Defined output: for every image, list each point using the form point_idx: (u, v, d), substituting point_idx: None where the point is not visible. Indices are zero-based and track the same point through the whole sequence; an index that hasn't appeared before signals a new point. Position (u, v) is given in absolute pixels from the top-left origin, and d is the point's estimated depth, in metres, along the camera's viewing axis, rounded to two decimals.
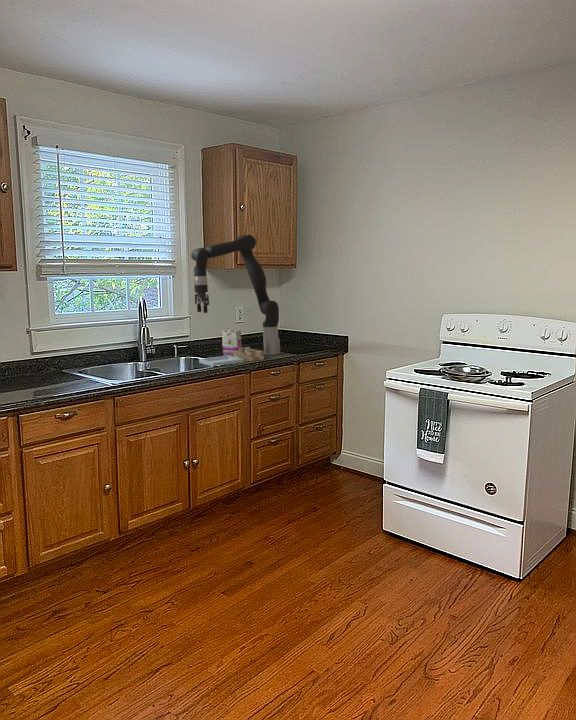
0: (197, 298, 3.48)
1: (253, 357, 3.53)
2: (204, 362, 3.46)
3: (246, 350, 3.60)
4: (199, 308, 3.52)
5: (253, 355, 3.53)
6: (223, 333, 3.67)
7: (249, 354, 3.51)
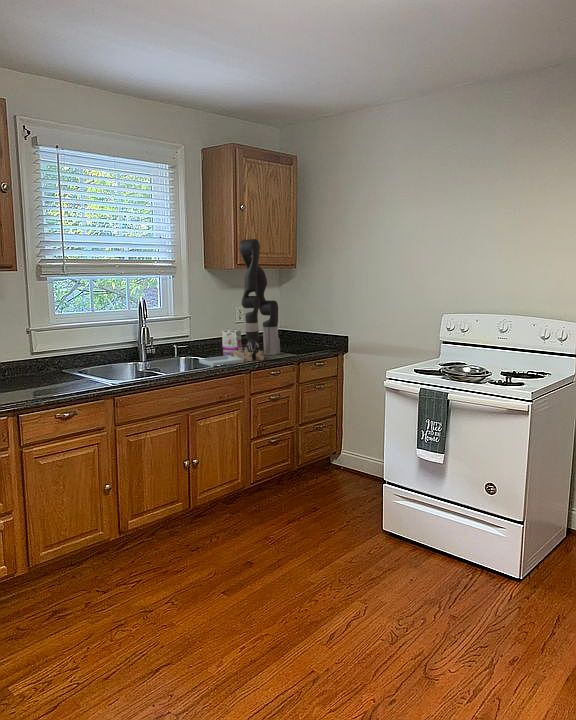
0: (249, 344, 3.52)
1: None
2: (204, 362, 3.46)
3: (246, 350, 3.60)
4: None
5: None
6: (223, 333, 3.67)
7: (249, 354, 3.51)
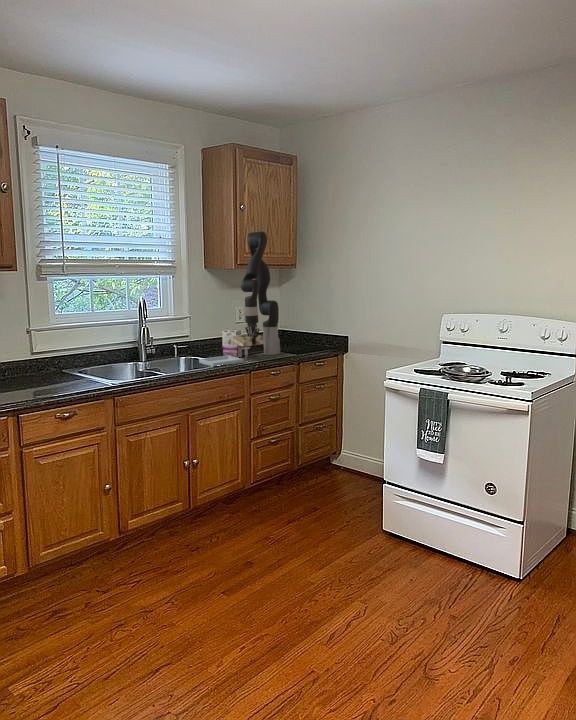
0: (248, 328, 3.51)
1: None
2: (204, 362, 3.46)
3: (246, 350, 3.60)
4: None
5: None
6: (223, 333, 3.67)
7: (249, 338, 3.50)
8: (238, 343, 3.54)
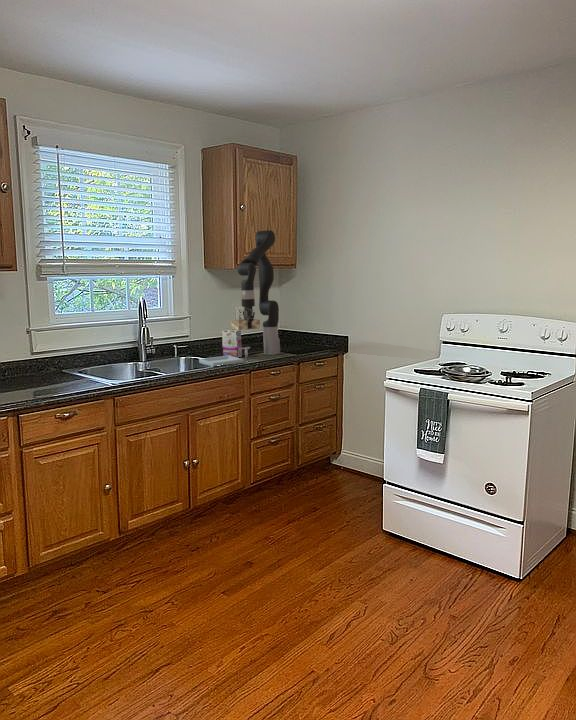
0: (244, 312, 3.49)
1: None
2: (204, 362, 3.46)
3: (246, 350, 3.60)
4: None
5: None
6: (223, 333, 3.67)
7: (244, 322, 3.48)
8: (235, 327, 3.53)
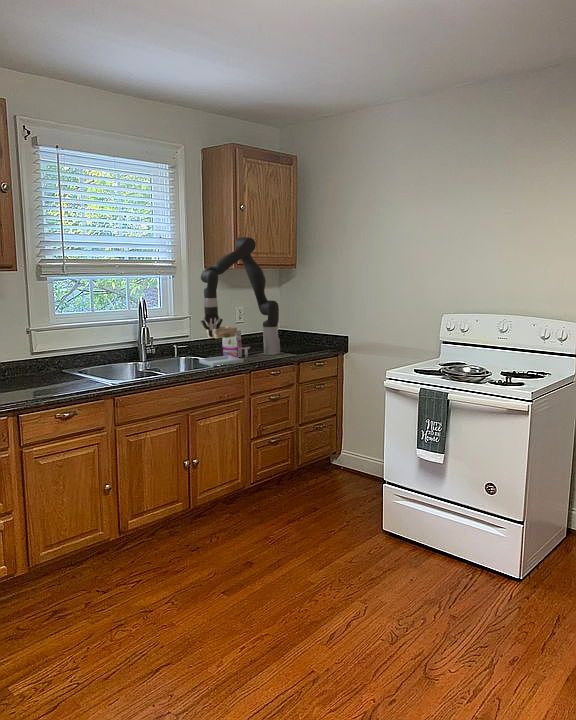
0: None
1: None
2: (204, 362, 3.46)
3: (246, 350, 3.60)
4: None
5: None
6: None
7: None
8: None
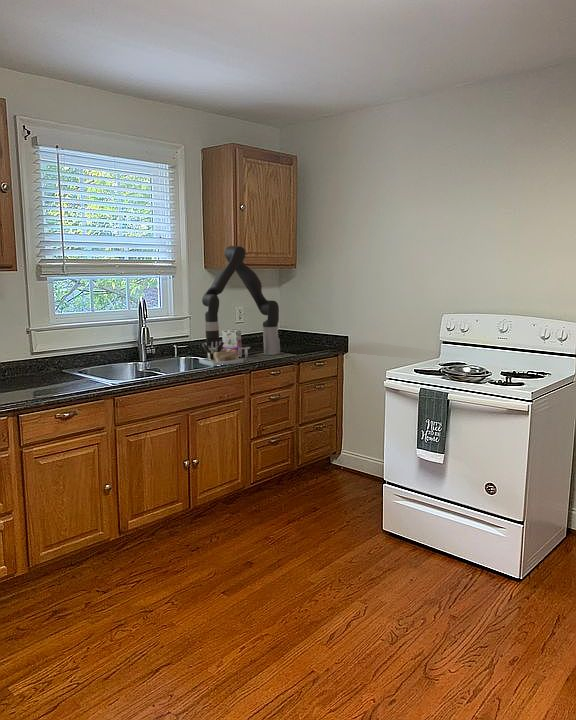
0: None
1: None
2: (204, 362, 3.46)
3: (246, 350, 3.60)
4: None
5: None
6: (223, 333, 3.67)
7: None
8: None
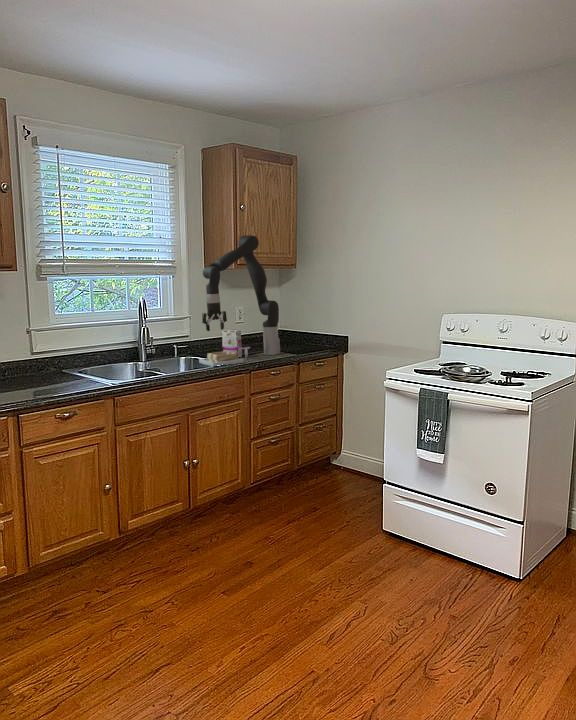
0: None
1: (212, 359, 3.46)
2: (204, 362, 3.46)
3: (246, 350, 3.60)
4: (221, 325, 3.48)
5: (211, 357, 3.46)
6: (223, 333, 3.67)
7: (209, 355, 3.48)
8: None
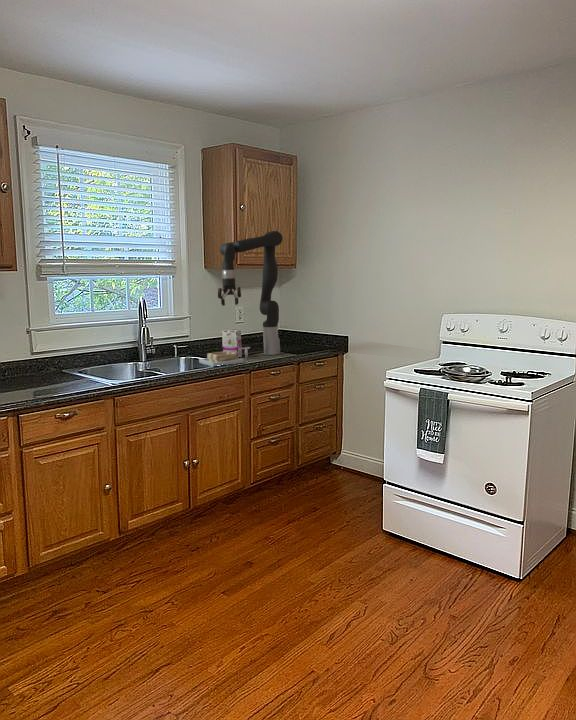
0: None
1: (212, 359, 3.46)
2: (204, 362, 3.46)
3: (246, 350, 3.60)
4: (235, 301, 3.62)
5: (211, 357, 3.46)
6: (223, 333, 3.67)
7: (209, 355, 3.48)
8: None
